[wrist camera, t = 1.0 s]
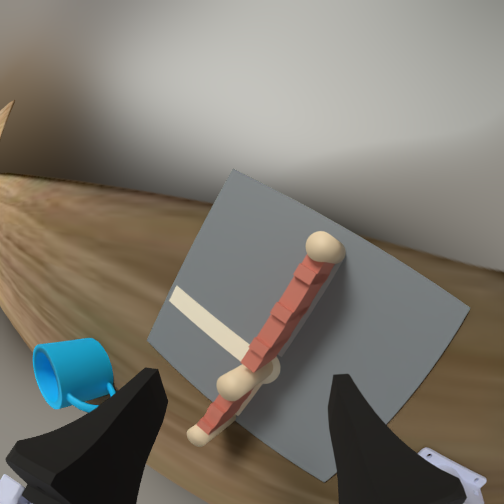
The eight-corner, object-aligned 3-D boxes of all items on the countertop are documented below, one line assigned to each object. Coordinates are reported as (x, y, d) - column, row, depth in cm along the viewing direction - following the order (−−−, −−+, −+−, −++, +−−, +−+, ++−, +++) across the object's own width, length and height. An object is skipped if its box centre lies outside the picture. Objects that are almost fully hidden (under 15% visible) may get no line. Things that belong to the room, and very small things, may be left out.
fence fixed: (260, 349, 24) (224, 368, 19) (279, 363, 23) (247, 387, 18) (217, 412, 26) (179, 437, 20) (232, 425, 25) (197, 453, 19)
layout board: (469, 307, 17) (470, 308, 17) (325, 480, 20) (324, 483, 20) (234, 169, 26) (232, 168, 26) (148, 339, 30) (146, 340, 29)
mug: (77, 372, 36) (32, 381, 28) (83, 326, 35) (33, 331, 28) (128, 424, 31) (80, 443, 24) (138, 376, 30) (82, 393, 23)
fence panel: (280, 358, 23) (254, 377, 18) (262, 345, 24) (233, 361, 19) (350, 247, 21) (340, 240, 17) (329, 235, 22) (315, 225, 17)
